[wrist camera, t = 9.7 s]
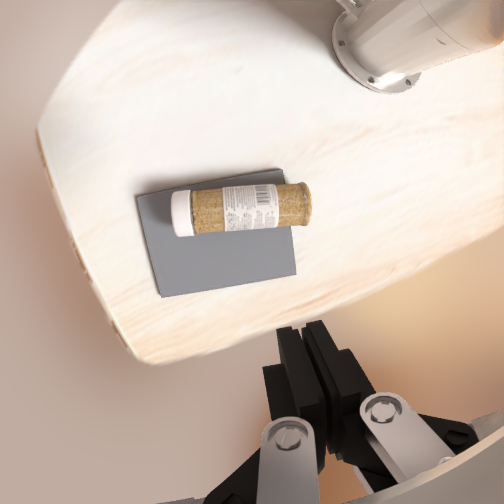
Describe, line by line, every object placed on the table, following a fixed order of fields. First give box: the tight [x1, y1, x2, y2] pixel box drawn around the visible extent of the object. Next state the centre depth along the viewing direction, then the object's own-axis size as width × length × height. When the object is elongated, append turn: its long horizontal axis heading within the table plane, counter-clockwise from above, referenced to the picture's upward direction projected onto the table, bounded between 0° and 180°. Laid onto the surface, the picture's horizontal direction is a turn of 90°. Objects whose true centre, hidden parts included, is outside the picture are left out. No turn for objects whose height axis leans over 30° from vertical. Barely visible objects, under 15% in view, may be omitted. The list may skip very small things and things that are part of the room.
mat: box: [137, 170, 297, 298], centre depth 33 cm, size 16×12×1 cm
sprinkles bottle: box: [171, 182, 312, 237], centre depth 30 cm, size 5×5×14 cm
